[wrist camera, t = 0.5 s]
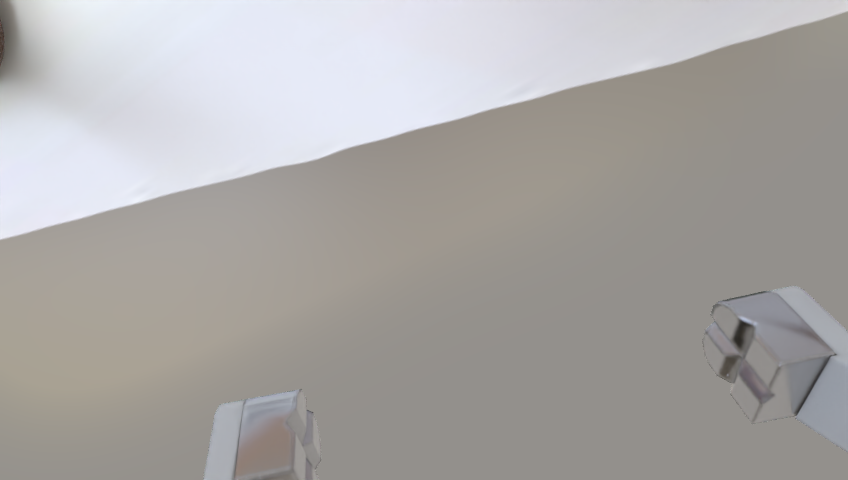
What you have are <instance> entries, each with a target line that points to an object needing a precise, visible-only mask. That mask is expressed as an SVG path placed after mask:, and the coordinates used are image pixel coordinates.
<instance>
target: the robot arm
mask: <svg viewBox="0 0 848 480" xmlns="http://www.w3.org/2000/svg"><path fill="white" fill-rule="evenodd" d="M710 315H711V316H712V318H713V319H714V320H715V321H714V322H713V323H712V324H711V325H710V326H709V327H708V328H707V329H706V330H705V333H704V338H703V347H704V353H705V356H706V359H707V361H708V363H709V365H710V366H711V368H712V369H713V371H714V372H715V374H716V375H717V376H719V377H721V378H722V379H724V380H726V381H728V382H730V383H731V396H732V397H733V399H734V400H735V401H736V403H737V404H738V405H739V407H740V408H741V409H742V411H743V412H744V414H745V415H746V416H747V418H748V419H749V420H750V422H751V423H752V424H756V423H761V422H767V421H772V420H777V419H783V418H788V417H793V416H796V419H797V420H798V421H800V422H802V423H803V424H805V425H806V426H808V427H809V428H811V429H812V430H814V431H815V432H817V433H818V434H820V435H821V436H823V437H824V438H826V439H828V440H829V441H831V442H832V443H834V444H835V445H837V446H838V447H840V448H841V449H843V450H844V451H846V452H847V453H848V331H847V330H846V329H845V328H844V327H843V326H842V325H840V324H839V323H838V322H837V321H836V320H835V319H834V318H833V317H832V316H831V315H830V314H829V313H828V312H827V311H826V310H825V309H824V308H822V306H821V305H819V304H818V303H817V302H816V301H815V300H814V299H813V298H812V297H811V296H810V295H809V294H808V293H807V292H806V291H805V290H803V289H802V288H799V287H797V286H790V287H785V288H780V289H776V290H771V291H763V292H758V293H754V294H750V295H745V296H741V297H736V298H732V299H727V300H723V301H719V302H718V303H717V304H715V305H714V306H713V309H712V311H711V314H710ZM320 461H321V443H320V435H319V429H318V425H317V422H316V419H315V416H314V414H313V412H311V411H309V410H307V399H306V397H305V395H304V393H303V391H302V389H299V390H294V391H288V392H283V393H277V394H272V395H267V396H261V397H256V398H250V399H245V400H239V401H234V402H230V403H225V404H220V405H219V407H218V409H217V411H216V413H215V417H214V422H213V427H212V433H211V439H210V444H209V450H208V455H207V461H206V467H205V472H204V478H203V480H319V478H318V476H317V474H316V471H315V469H316V468H317V466H318V464H319V463H320Z"/></svg>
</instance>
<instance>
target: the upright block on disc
mask: <svg viewBox="0 0 848 480" xmlns="http://www.w3.org/2000/svg"><path fill="white" fill-rule="evenodd" d="M3 53H4V35H3V29H2V24H1V20H0V65H1V62H2V59H3Z"/></svg>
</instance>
